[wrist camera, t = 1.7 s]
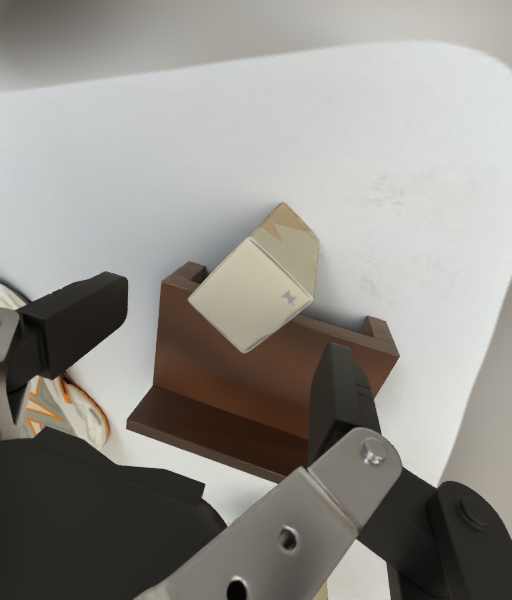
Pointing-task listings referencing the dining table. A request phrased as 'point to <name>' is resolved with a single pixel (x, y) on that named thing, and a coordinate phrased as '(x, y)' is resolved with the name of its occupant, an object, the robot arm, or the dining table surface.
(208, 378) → the shelf
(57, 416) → the running shoe
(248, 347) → the box
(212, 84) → the dining table surface
